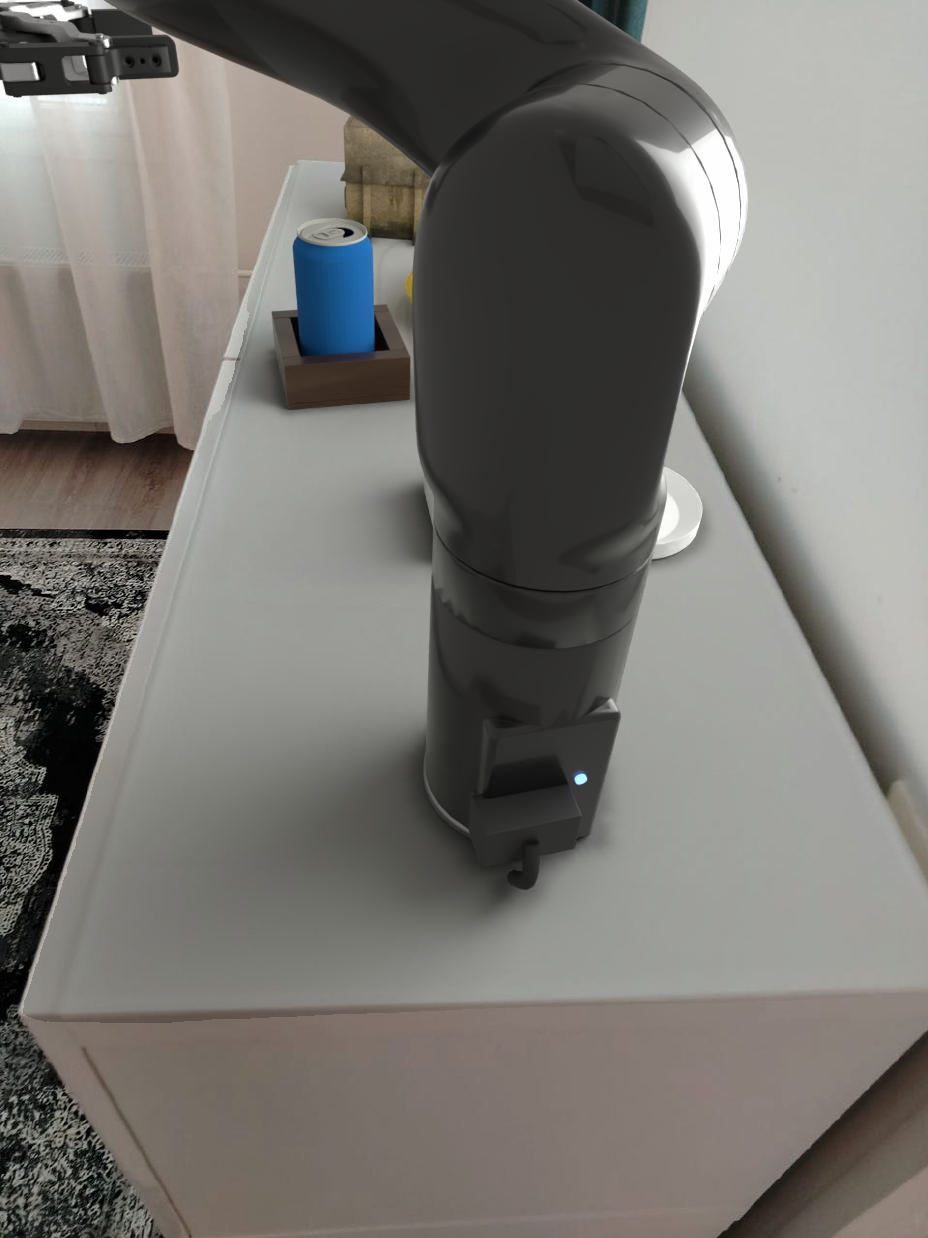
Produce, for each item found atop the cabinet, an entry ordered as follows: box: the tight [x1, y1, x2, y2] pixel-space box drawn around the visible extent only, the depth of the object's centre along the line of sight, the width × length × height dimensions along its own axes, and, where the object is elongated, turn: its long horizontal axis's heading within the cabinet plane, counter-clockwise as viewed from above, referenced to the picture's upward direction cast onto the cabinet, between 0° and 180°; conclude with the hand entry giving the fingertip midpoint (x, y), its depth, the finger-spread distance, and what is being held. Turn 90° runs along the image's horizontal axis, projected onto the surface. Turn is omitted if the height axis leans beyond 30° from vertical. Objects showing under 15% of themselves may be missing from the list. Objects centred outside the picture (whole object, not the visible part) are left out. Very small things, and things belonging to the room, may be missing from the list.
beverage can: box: [292, 217, 375, 357], centre depth 76 cm, size 6×6×12 cm
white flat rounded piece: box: [423, 465, 703, 560], centre depth 66 cm, size 12×3×20 cm
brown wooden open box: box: [271, 303, 411, 410], centre depth 79 cm, size 10×10×4 cm
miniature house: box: [339, 114, 431, 246], centre depth 106 cm, size 15×14×11 cm
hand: (163, 40), depth 59 cm, fingers open, 8 cm apart
